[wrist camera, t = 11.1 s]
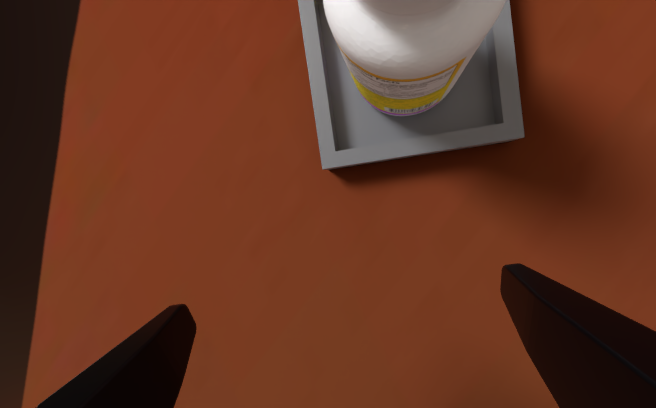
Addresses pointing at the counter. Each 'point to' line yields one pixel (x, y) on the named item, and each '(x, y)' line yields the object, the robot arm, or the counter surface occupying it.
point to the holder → (420, 129)
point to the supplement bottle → (408, 47)
